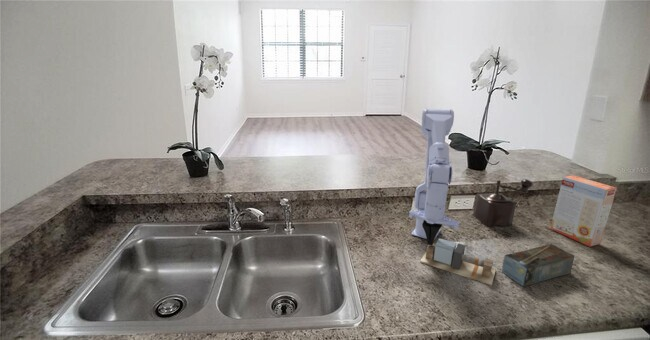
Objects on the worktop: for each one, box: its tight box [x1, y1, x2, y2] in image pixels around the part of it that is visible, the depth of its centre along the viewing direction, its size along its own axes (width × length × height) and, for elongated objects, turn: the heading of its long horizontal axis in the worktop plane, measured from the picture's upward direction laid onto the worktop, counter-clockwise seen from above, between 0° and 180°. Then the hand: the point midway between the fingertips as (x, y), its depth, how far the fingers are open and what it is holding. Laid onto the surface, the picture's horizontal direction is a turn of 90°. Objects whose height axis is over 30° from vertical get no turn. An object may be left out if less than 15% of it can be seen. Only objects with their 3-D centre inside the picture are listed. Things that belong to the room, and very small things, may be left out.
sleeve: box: [434, 238, 457, 265], centre depth 101 cm, size 5×5×6 cm
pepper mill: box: [472, 178, 534, 228], centre depth 128 cm, size 16×11×18 cm
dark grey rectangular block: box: [452, 243, 466, 270], centre depth 99 cm, size 2×5×5 cm, turn 147°
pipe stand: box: [419, 242, 496, 286], centre depth 100 cm, size 20×8×4 cm, turn 58°
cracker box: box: [550, 175, 617, 247], centre depth 116 cm, size 14×6×21 cm, turn 22°
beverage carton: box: [501, 243, 575, 287], centre depth 97 cm, size 8×19×7 cm, turn 110°
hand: (430, 243), depth 103 cm, fingers closed
